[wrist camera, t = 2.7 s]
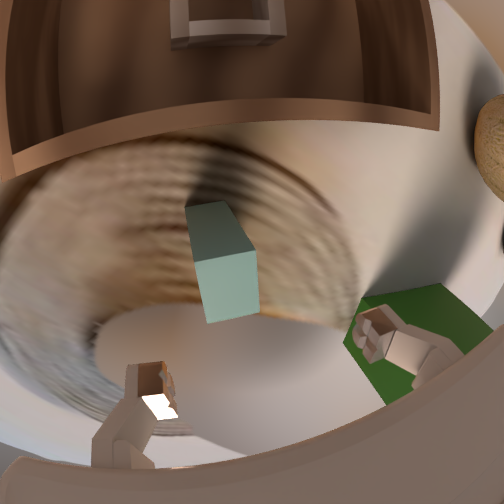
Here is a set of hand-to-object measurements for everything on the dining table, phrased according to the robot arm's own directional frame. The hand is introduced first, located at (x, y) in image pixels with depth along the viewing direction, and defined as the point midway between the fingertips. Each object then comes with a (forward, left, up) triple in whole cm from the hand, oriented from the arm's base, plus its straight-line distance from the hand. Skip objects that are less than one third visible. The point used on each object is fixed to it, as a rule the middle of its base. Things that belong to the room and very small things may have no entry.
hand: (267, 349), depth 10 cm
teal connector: (-1, 0, -12) cm, 12 cm away
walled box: (+1, +17, -12) cm, 21 cm away
